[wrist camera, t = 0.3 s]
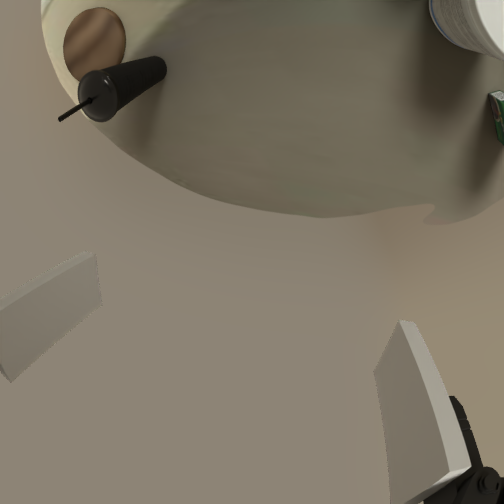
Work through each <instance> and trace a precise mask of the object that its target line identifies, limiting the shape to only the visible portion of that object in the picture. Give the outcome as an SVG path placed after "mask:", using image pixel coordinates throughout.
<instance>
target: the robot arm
mask: <svg viewBox="0 0 504 504" xmlns="http://www.w3.org/2000/svg"><path fill="white" fill-rule="evenodd" d="M100 306H102V300H101V293H100V286H99V278H98V271H97V260H96V254H94V253H90V252H87V251H84V252H82V253H80V254H78V255H76V256H74V257H72V258H70V259H68V260H67V261H65V262H63V263H61V264H59V265H57V266H55V267H54V268H52V269H50V270H48V271H46V272H44V273H43V274H41V275H39V276H37V277H35V278H34V279H32V280H30V281H29V282H27V283H25V284H23V285H22V286H20V287H18V288H17V289H15V290H13V291H12V292H10V293H8V294H7V295H5V296H3V297H2V298H0V371H1V373H2V374H3V375H4V376H5V377H6V378H7V379H8V380H9V381H10V382H12V381H14V380H15V379H16V378H17V377H18V376H19V375H20V374H21V373H22V372H23V371H24V370H26V369H27V368H28V367H29V366H30V365H31V364H32V363H33V362H35V361H36V360H37V359H38V358H39V357H40V356H41V355H42V354H44V353H45V352H46V351H47V350H48V349H49V348H51V347H52V346H53V345H54V344H55V343H56V342H57V341H59V340H60V339H61V338H62V337H64V336H65V335H66V334H67V333H68V332H69V331H71V330H72V329H73V328H74V327H76V326H77V325H78V324H79V323H80V322H82V321H83V320H84V319H85V318H87V317H88V316H89V315H90V314H92V313H93V312H94V311H95V310H97V309H98V308H99V307H100ZM374 376H375V381H376V386H377V391H378V397H379V403H380V409H381V415H382V420H383V428H384V435H385V443H386V452H387V461H388V472H389V485H390V504H418V503H420V502H422V501H424V504H504V477H500V476H499V474H498V473H497V472H496V470H494V469H493V468H491V467H483V464H482V461H481V458H480V454H479V451H478V448H477V445H476V442H475V439H474V436H473V433H472V430H470V428H471V427H470V424H469V422H468V420H467V416H466V414H465V411H464V409H463V406H462V405H461V404H460V403H459V401H458V400H457V399H456V398H455V397H454V396H448V394H447V391H446V389H445V386H444V384H443V381H442V379H441V377H440V374H439V372H438V370H437V368H436V366H435V363H434V361H433V359H432V357H431V355H430V352H429V351H428V348H427V346H426V344H425V342H424V340H423V338H422V336H421V334H420V332H419V330H418V328H417V326H416V324H415V322H409V321H402V320H398V322H397V325H396V327H395V329H394V331H393V333H392V336H391V338H390V340H389V342H388V344H387V346H386V348H385V350H384V352H383V354H382V356H381V358H380V360H379V362H378V364H377V366H376V368H375V370H374Z"/></svg>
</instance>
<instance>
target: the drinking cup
mask: <svg viewBox="0 0 504 504" xmlns="http://www.w3.org/2000/svg"><path fill="white" fill-rule="evenodd" d="M166 72H167V67H166V64H165V62H164V60H163V59H161V58H160V57H157V56H152V57H147V58H143V59H138V60H134V61H130V62H126V63H122V64H118V65H114V66H111V67H108V68H104V69H101V70H92V71H90V72H88V73H86V74H85V75H84V76H83V77H82V79H81V80H80V83H79V86H78V100H79V103H80V104H79V105H77V106H75V107H74V108H72V109H70V110H69V111H67V112H66V113H64V114H63V115H61V116H60V117H59V118H58V120H59V122H61V121H63V120H64V119H66V118H67V117H69V116H70V115H72V114H73V113H75V112H76V111H78V110H80V109H81V108H82V110H83V111H84V113H85V114H86V115H87V116H88V117H89V118H90V119H92V120H94V121H96V122H106V121H108V120H110V119H111V118H112V117H113V116H114V115H115V114H116V112H117V111H119V110H120V109H121V108H122V107H124V106H125V105H126V104H128V103H129V102H130V101H132V100H133V99H135V98H136V97H137V96H139V95H140V94H142V93H143V92H144V91H146V90H147V89H149V88H150V87H152V86H153V85H155V84H156V83H158V82H159V81H161V80H162V79H163V78H164V77H165V75H166Z"/></svg>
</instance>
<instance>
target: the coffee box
mask: <svg viewBox="0 0 504 504" xmlns="http://www.w3.org/2000/svg"><path fill="white" fill-rule="evenodd" d="M488 95H489V98H490V102H491V107H492V111H493V115H494V120H495V125H496V131H497V136H498V140H499V141H500V142H501V143H502V144H503V145H504V92H502V91H500V90H499V91H495V92H492V93H488Z"/></svg>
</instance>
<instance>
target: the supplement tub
mask: <svg viewBox="0 0 504 504" xmlns="http://www.w3.org/2000/svg"><path fill="white" fill-rule="evenodd" d="M429 11H430V15H431V17H432V20H433V22H434V24H435V25H436V27H437V28H438V30H439V31H440V32H441V33H442V34H443V36H445V37H446V38H447V39H448V40H449V41H450V42H452V43H453V44H455V45H457V46H459V47H461V48H464V49H468V50H471V51H475V52H478V53H482V54H485V55H488V56H491V57H494V58H497V59H500V60H502V61H504V0H429Z"/></svg>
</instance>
